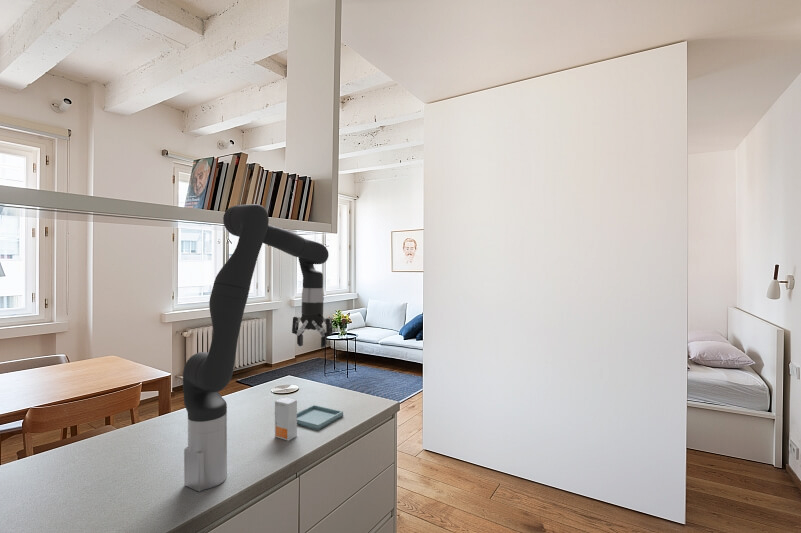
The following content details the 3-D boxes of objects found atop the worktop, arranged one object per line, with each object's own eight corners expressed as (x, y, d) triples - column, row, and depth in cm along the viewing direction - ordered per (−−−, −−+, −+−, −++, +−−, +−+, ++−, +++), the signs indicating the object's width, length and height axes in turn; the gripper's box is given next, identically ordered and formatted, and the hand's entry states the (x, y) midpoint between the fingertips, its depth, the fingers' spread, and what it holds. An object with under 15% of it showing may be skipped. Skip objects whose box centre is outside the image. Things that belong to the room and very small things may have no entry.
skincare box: (274, 437, 130) (274, 400, 130) (283, 432, 134) (283, 396, 134) (288, 441, 127) (288, 404, 127) (297, 436, 131) (297, 399, 131)
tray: (318, 430, 135) (318, 425, 135) (287, 422, 142) (287, 417, 142) (343, 416, 148) (343, 411, 148) (314, 409, 154) (314, 404, 154)
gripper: (289, 300, 139) (288, 347, 138) (327, 302, 136) (326, 349, 136) (298, 299, 146) (298, 343, 146) (335, 300, 143) (334, 345, 143)
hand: (311, 346), depth 141 cm, fingers open, 8 cm apart
